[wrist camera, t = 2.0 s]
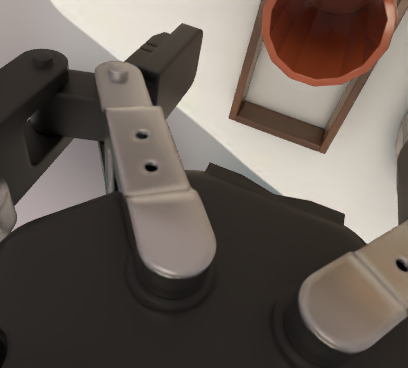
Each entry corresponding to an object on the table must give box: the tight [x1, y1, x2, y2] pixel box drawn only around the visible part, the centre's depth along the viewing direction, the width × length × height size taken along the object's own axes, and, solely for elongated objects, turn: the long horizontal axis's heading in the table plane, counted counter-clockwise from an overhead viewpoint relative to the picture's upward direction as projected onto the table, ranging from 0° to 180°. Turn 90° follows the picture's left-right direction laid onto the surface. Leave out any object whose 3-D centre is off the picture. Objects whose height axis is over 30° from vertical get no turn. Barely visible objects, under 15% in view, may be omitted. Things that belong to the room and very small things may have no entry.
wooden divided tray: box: [229, 0, 408, 154], centre depth 26 cm, size 16×8×2 cm, turn 170°
